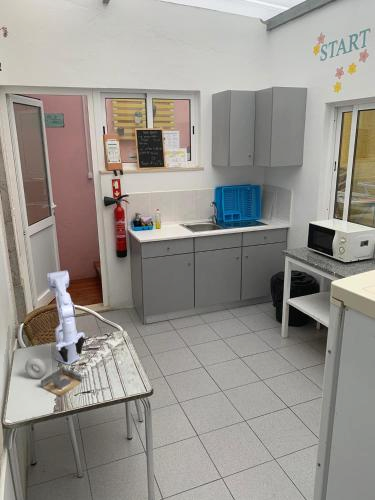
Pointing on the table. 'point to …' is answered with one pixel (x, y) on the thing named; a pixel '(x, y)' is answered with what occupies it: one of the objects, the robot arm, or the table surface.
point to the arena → (63, 373)
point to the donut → (32, 371)
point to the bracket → (59, 382)
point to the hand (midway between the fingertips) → (72, 357)
